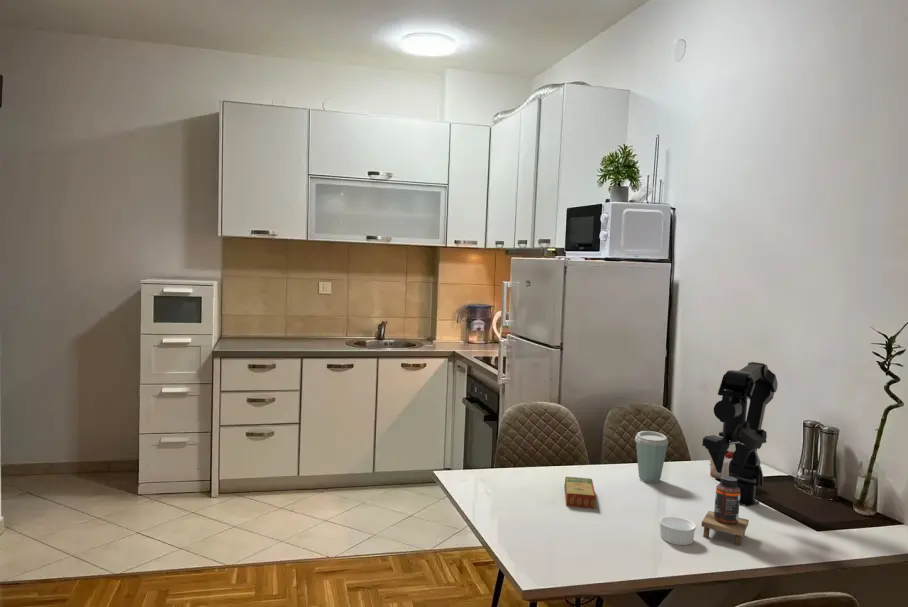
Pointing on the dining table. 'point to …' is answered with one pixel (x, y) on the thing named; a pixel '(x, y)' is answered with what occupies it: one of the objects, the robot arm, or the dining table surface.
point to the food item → (725, 467)
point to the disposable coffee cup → (650, 455)
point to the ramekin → (677, 530)
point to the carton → (579, 492)
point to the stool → (725, 527)
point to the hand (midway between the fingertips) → (729, 470)
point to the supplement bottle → (727, 501)
